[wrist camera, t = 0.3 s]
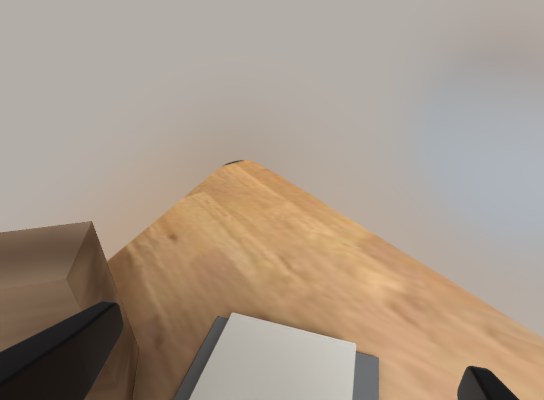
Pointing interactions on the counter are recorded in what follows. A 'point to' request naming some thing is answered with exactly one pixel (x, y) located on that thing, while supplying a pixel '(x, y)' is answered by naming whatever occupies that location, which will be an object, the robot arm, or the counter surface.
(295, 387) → the build board
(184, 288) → the counter surface
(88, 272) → the walnut pillar block
